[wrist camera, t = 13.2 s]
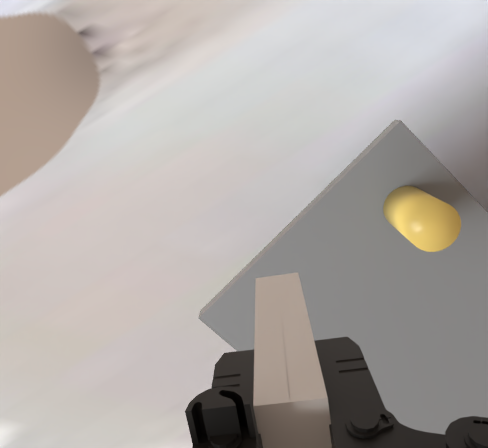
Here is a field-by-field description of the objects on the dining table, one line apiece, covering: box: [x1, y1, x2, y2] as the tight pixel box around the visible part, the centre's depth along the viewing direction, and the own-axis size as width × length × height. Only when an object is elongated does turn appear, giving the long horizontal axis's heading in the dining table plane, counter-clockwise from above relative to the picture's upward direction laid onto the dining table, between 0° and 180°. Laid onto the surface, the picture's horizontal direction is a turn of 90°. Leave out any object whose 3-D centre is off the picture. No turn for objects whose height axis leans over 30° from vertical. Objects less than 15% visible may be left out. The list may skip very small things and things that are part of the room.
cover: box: [199, 120, 488, 435], centre depth 24 cm, size 22×19×5 cm
